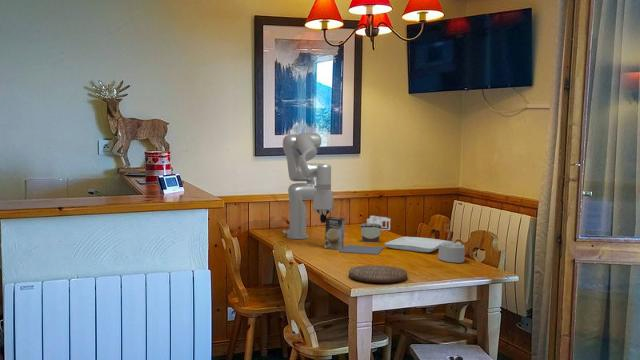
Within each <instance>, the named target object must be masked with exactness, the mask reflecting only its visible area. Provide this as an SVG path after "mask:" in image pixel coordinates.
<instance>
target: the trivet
mask: <svg viewBox="0 0 640 360" xmlns="http://www.w3.org/2000/svg"><path fill="white" fill-rule="evenodd" d="M348 277H350V278H351V279H353V280H355V281H359V282H366V283H375V284H376V283H377V284H387V283H388V284H390V283H397V282H398V283H400V282H403V281H405V280H407V279H408V271H407V270H405V269H402V268H399V267H395V266H389V265H375V264H374V265H359V266H355V267H354V266H353V267H351V268H350V269H348Z"/></svg>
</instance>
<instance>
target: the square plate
mask: <svg viewBox="0 0 640 360" xmlns="http://www.w3.org/2000/svg"><path fill="white" fill-rule="evenodd" d="M446 241H447V242H448V241H449V240H444V239H437V238H430V237H421V236H420V237H418V236H416V237H415V236H402V237H398V238H395V239H393V240H389V241H387V242H384V245H385V246H386V247H387V248H390V249H394V250H399V251H400V250H401V251H408V252H414V253H415V252H416V253H431V252H434V251H436V250H439V244H441V243H443V242H446Z"/></svg>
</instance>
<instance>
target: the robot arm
mask: <svg viewBox="0 0 640 360" xmlns="http://www.w3.org/2000/svg"><path fill="white" fill-rule="evenodd" d="M321 145H322V138H321V135H320V134H319V133H317V132H301V133H298V134H297V133H296V134H287V135H285V136H284V137H283V140H282V148H283V152H284V155H285V158H286V162H287V170H288V171H287V172H288V177H289V180H290V181H292V182H294V183H291V184H290V185H289V186H288V187H287V188H288V189H287V191H288V192H287V193H288V202H289V226H288V227H289V229H288V230H287V229H282V234H285V235H286V234H287V235H286V238H287V239H291V240H304V239H305V240H306V239H308V238H309V235H308V234H307V232H306V231H307V228H306V227H307V226H306V225H307V206H306V204H305V202H304V200H313V203H312V205H313V206H312V208H313V211H314V212H317V214H318V215H319V216H320V219H319V220H320V223H322V224H326V218H327V215H328V214H330V213H333V212H334V211H335V210H334V195H333V190H332V166H331V165H330V164H327V163H322V162H321V163H319V162H317V163H315V162H314V163H312V162H311V163H308V161H310V160H312V159H314V158H315V157H316V156H317V154H318V150H317V149H318V148H320V147H321ZM297 150H299V151H300V153H301V154H300V153H299V152H298V151H297ZM295 182H296V183H295ZM323 210H324V211H323Z"/></svg>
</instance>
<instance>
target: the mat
mask: <svg viewBox="0 0 640 360" xmlns="http://www.w3.org/2000/svg"><path fill="white" fill-rule="evenodd" d="M384 249H385V247H384V246H375V245H374V246H371V245H357V244H356V245H355V244H346V245H345V246H343V248H342V249H341V250H338V253H341V254H342V253H344V254H346V253H347V254H358V255H359V254H360V255H373V256H375V255H376V256H378V255H379V254H380V253H381V252H382V251H383V250H384Z"/></svg>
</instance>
